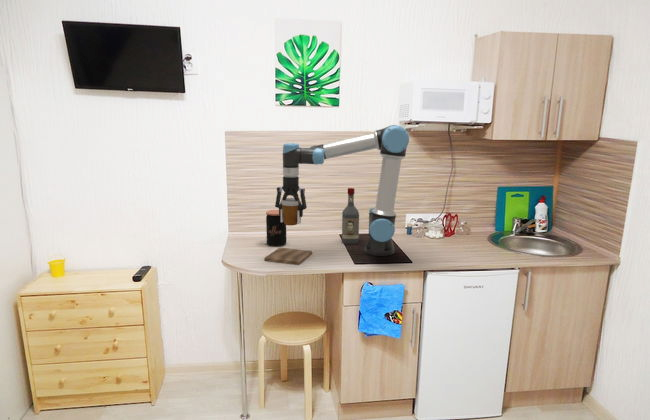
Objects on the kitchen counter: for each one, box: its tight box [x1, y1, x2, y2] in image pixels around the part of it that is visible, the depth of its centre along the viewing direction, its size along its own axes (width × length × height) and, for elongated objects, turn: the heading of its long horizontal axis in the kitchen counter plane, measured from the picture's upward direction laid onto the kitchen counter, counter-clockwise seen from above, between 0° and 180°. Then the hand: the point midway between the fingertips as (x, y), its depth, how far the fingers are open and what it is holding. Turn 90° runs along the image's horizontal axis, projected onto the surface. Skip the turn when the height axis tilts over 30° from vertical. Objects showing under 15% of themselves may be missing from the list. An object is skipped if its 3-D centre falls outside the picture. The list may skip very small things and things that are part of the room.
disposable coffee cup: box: [280, 197, 301, 227], centre depth 211 cm, size 10×10×12 cm
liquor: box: [341, 187, 360, 245], centre depth 240 cm, size 9×9×30 cm
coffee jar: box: [265, 209, 287, 247], centre depth 237 cm, size 11×11×18 cm
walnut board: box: [263, 246, 313, 266], centre depth 216 cm, size 18×18×2 cm
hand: (290, 222), depth 213 cm, fingers closed on disposable coffee cup, 8 cm apart
